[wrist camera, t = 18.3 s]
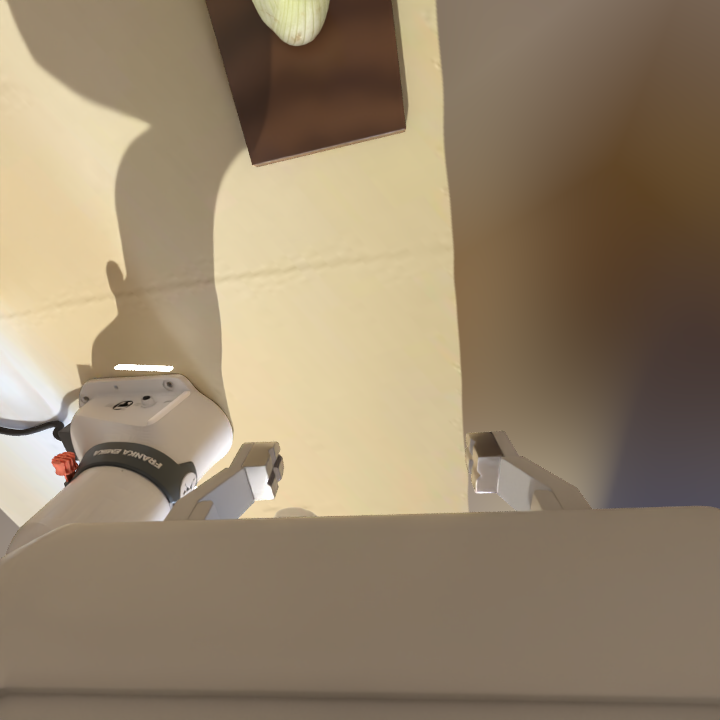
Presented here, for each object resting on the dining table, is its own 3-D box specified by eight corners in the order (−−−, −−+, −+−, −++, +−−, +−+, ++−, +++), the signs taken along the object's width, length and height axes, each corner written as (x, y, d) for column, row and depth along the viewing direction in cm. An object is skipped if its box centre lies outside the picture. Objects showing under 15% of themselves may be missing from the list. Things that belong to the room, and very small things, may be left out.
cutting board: (404, 131, 34) (406, 128, 32) (257, 167, 36) (252, 165, 34) (369, -171, 26) (369, -192, 24) (181, -104, 28) (170, -120, 26)
